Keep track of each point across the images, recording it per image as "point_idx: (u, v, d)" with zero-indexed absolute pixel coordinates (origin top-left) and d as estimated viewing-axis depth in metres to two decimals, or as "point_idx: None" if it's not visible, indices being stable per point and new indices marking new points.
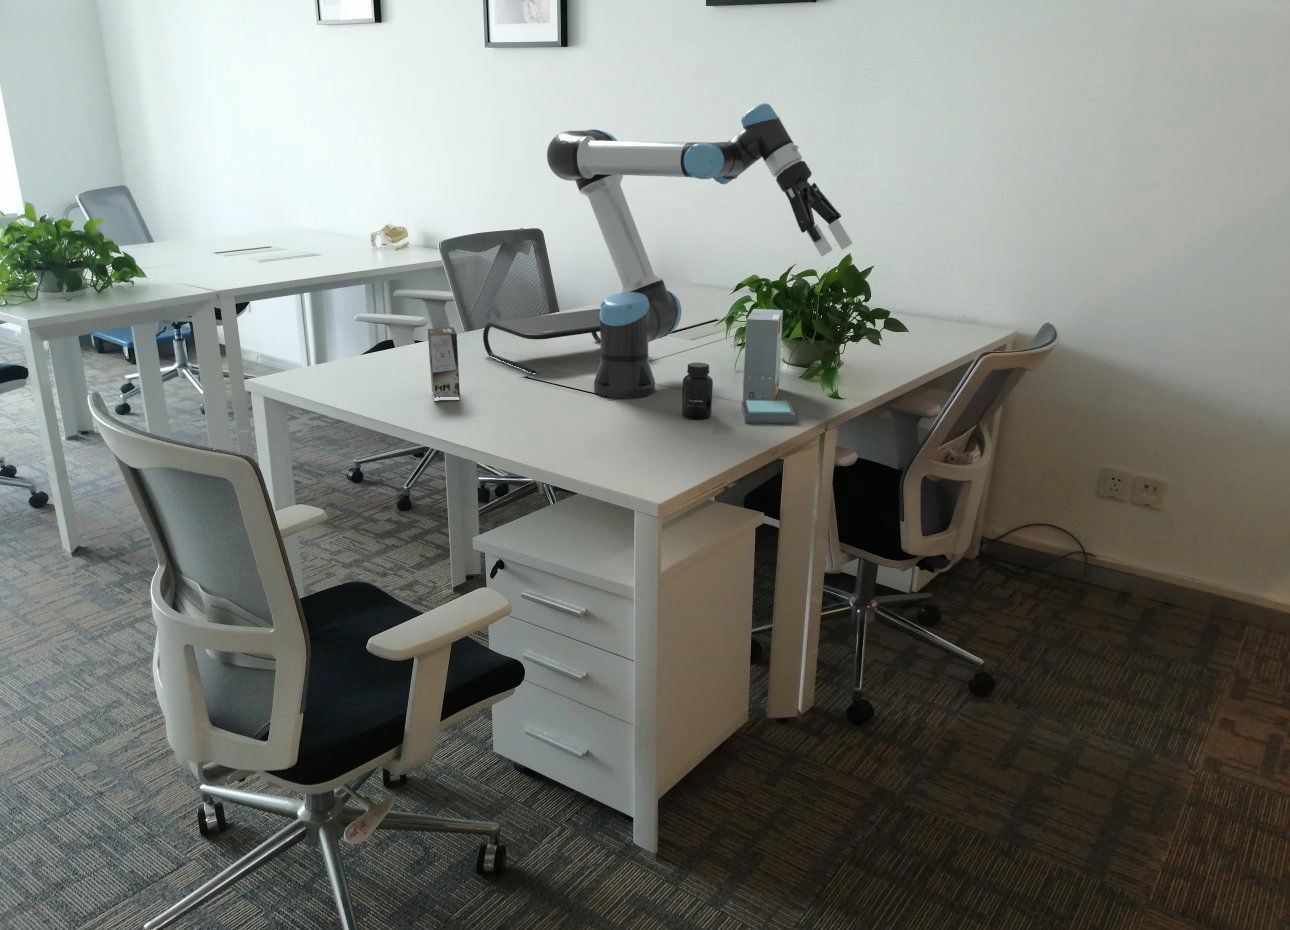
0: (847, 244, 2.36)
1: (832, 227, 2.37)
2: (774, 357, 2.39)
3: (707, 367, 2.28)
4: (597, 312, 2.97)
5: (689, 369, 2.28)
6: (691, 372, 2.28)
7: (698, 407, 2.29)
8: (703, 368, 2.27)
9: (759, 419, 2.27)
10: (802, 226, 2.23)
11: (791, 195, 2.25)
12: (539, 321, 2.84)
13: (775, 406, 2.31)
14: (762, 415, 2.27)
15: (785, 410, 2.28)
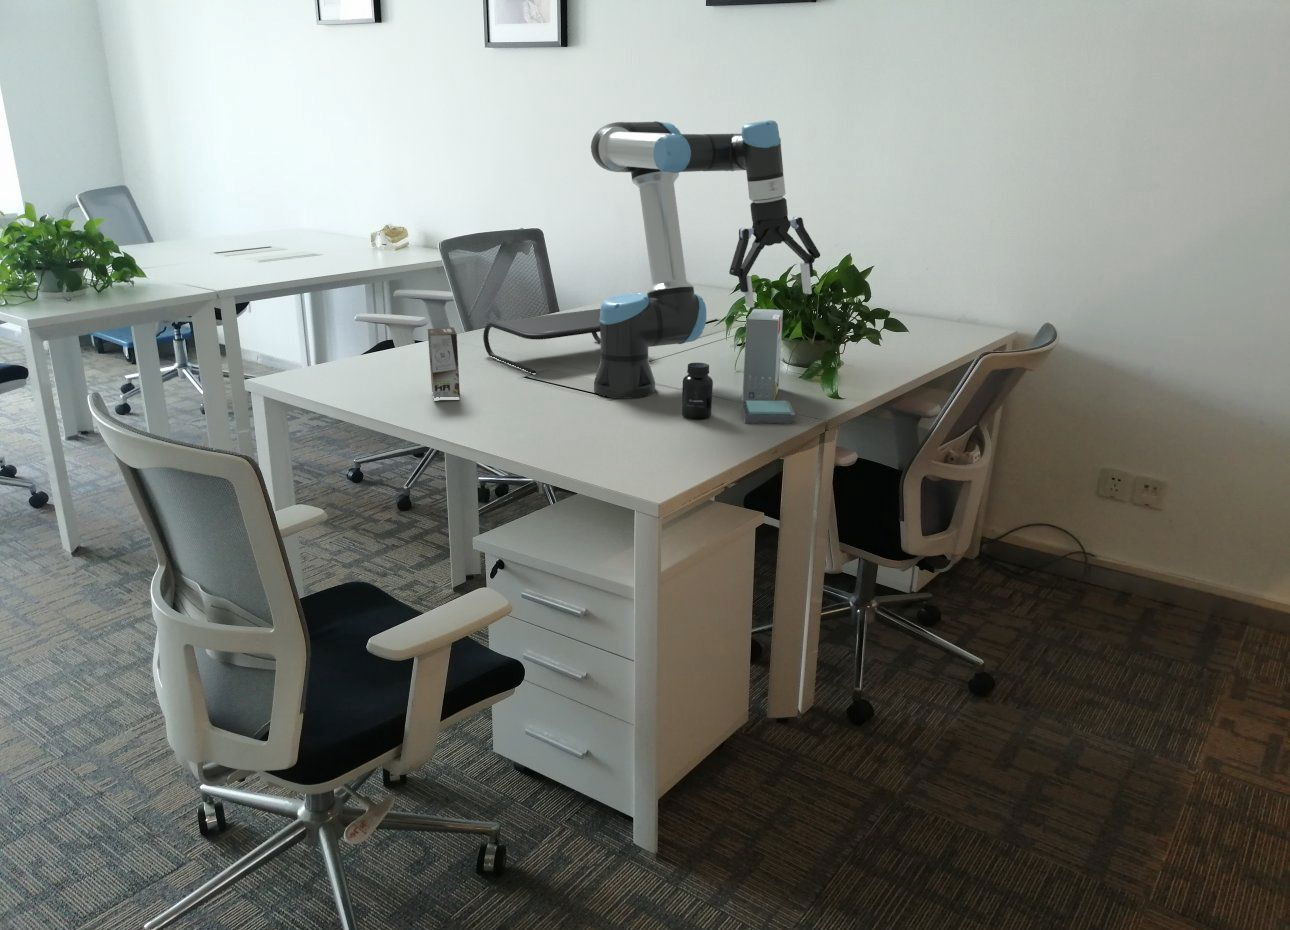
0: (806, 292, 2.22)
1: (802, 267, 2.21)
2: (774, 357, 2.39)
3: (707, 367, 2.28)
4: (597, 312, 2.97)
5: (689, 369, 2.28)
6: (691, 372, 2.28)
7: (698, 407, 2.29)
8: (703, 368, 2.27)
9: (759, 419, 2.27)
10: (731, 274, 2.16)
11: (740, 236, 2.14)
12: (539, 321, 2.84)
13: (775, 406, 2.31)
14: (762, 415, 2.27)
15: (785, 410, 2.28)
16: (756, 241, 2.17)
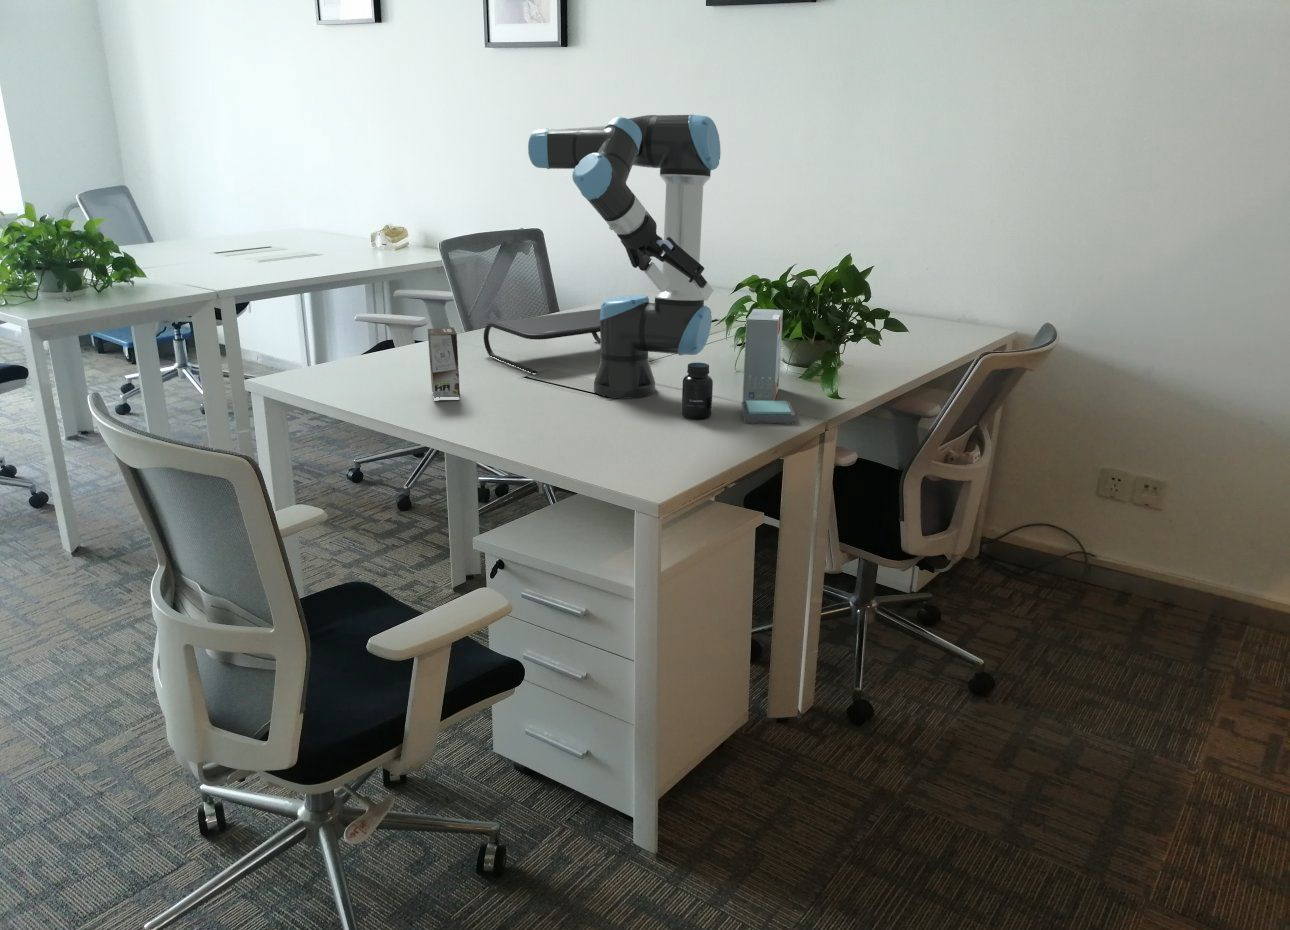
0: None
1: None
2: (774, 357, 2.39)
3: (707, 367, 2.28)
4: (598, 312, 2.96)
5: (689, 369, 2.28)
6: (691, 372, 2.28)
7: (698, 407, 2.29)
8: (703, 368, 2.27)
9: (759, 419, 2.27)
10: None
11: None
12: (540, 321, 2.83)
13: (775, 406, 2.31)
14: (762, 415, 2.27)
15: (785, 410, 2.28)
16: None
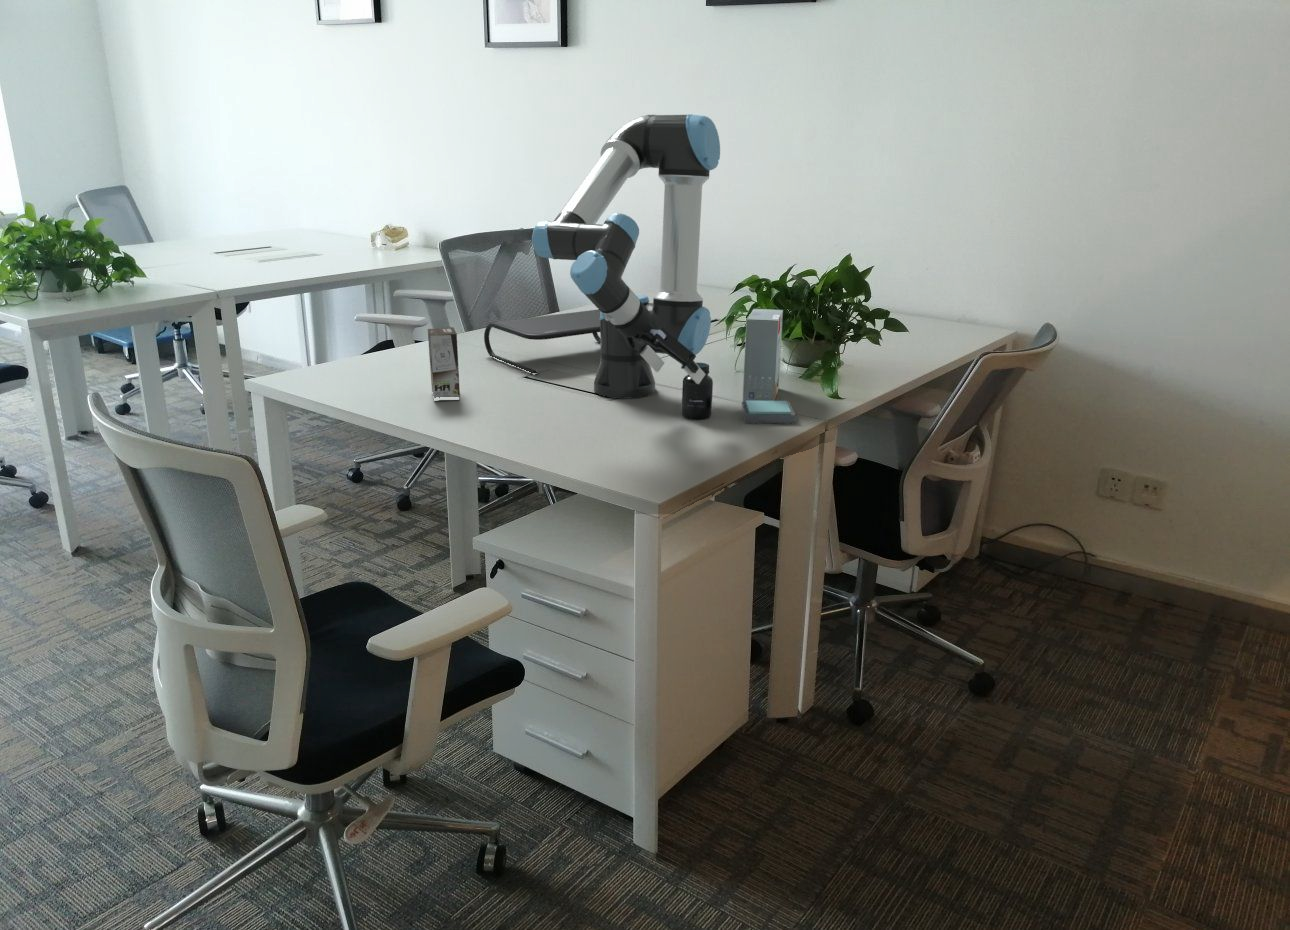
0: None
1: None
2: (774, 357, 2.39)
3: (707, 367, 2.28)
4: (598, 312, 2.96)
5: None
6: None
7: (698, 407, 2.29)
8: (703, 368, 2.27)
9: (759, 419, 2.27)
10: None
11: None
12: (540, 321, 2.83)
13: (775, 406, 2.31)
14: (762, 415, 2.27)
15: (785, 410, 2.28)
16: None
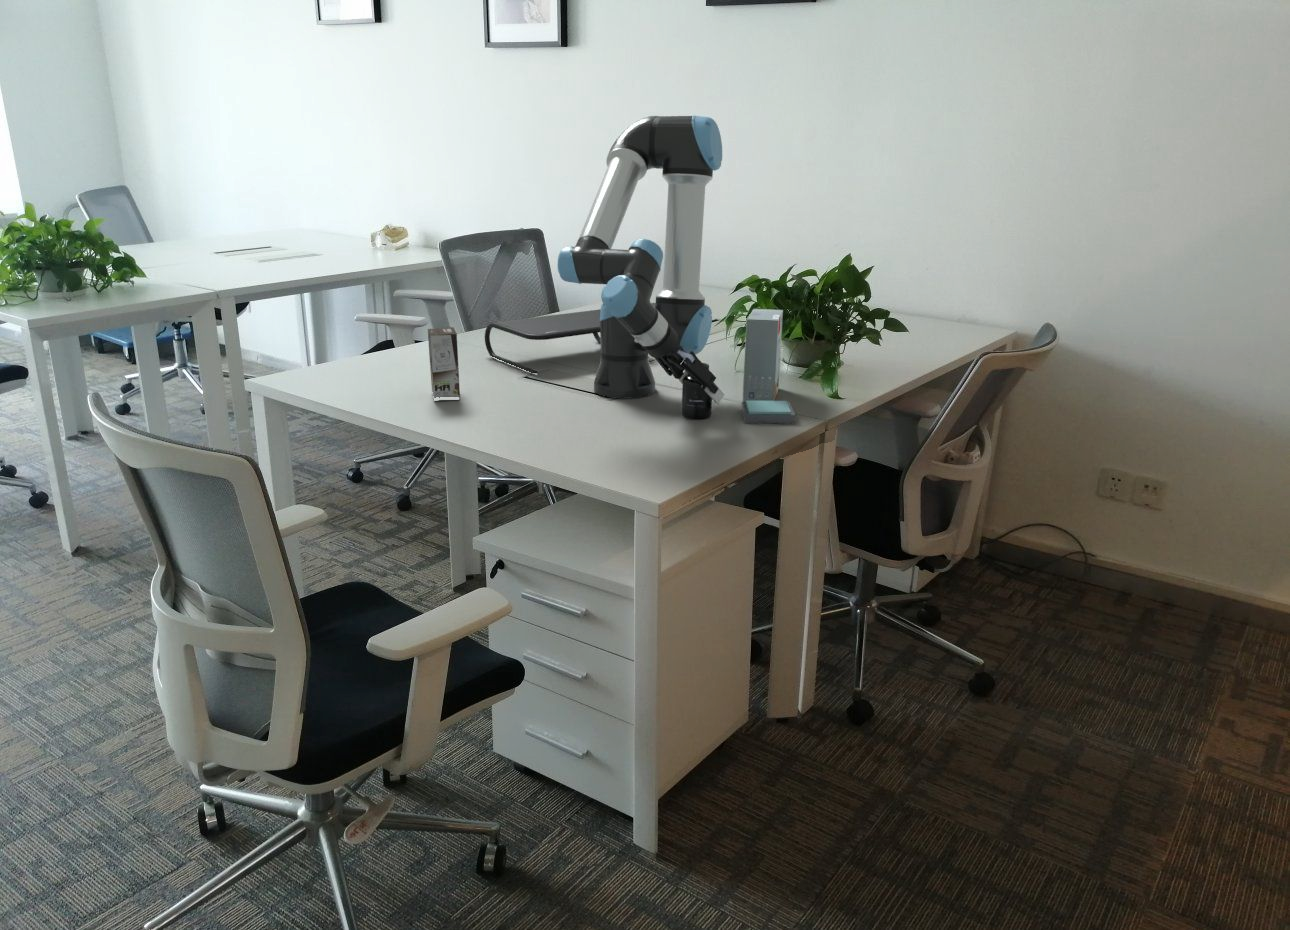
0: None
1: None
2: (774, 357, 2.39)
3: (707, 367, 2.28)
4: (599, 313, 2.96)
5: None
6: None
7: (698, 407, 2.29)
8: None
9: (759, 419, 2.27)
10: None
11: None
12: (541, 321, 2.83)
13: (775, 406, 2.31)
14: (762, 415, 2.27)
15: (785, 410, 2.28)
16: None
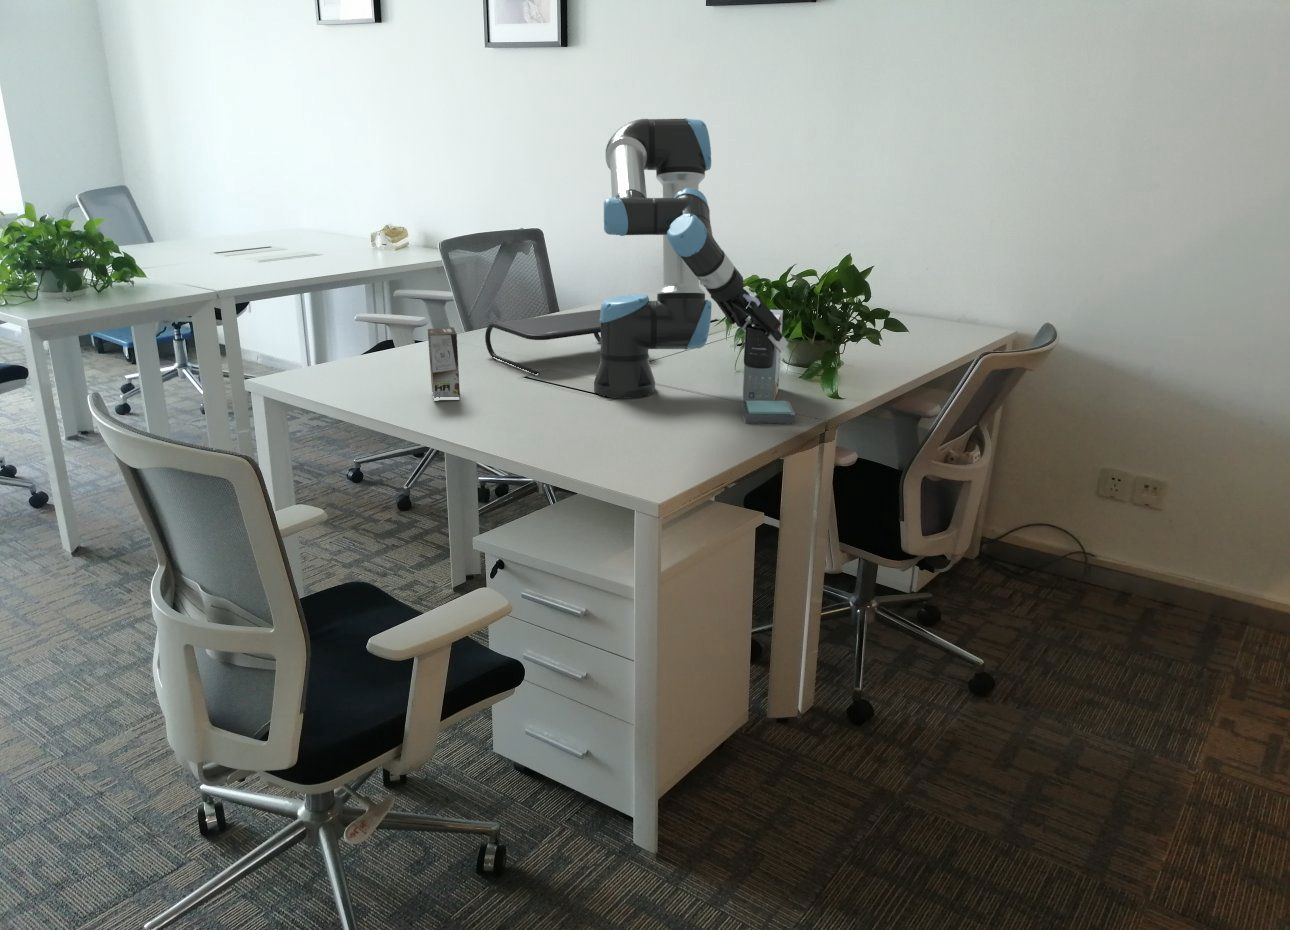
0: None
1: None
2: None
3: None
4: (599, 313, 2.96)
5: None
6: None
7: (761, 355, 2.23)
8: None
9: (759, 419, 2.27)
10: None
11: None
12: (541, 322, 2.83)
13: (775, 406, 2.31)
14: (762, 415, 2.27)
15: (785, 410, 2.28)
16: None
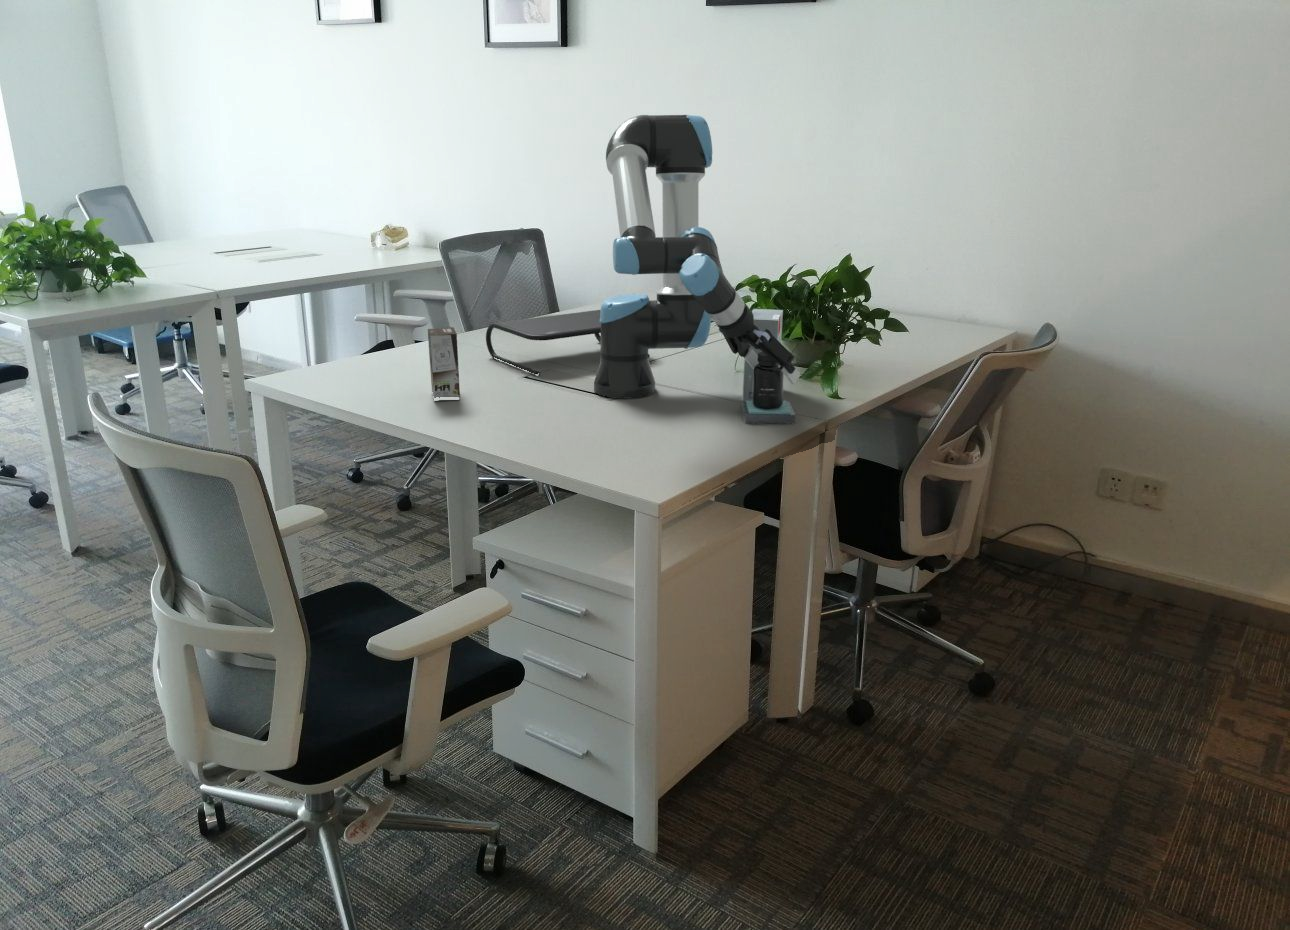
0: None
1: None
2: None
3: None
4: (600, 313, 2.96)
5: (759, 358, 2.27)
6: (762, 361, 2.27)
7: (769, 396, 2.27)
8: None
9: (759, 419, 2.27)
10: None
11: None
12: (542, 322, 2.83)
13: None
14: (762, 415, 2.27)
15: (785, 410, 2.28)
16: None
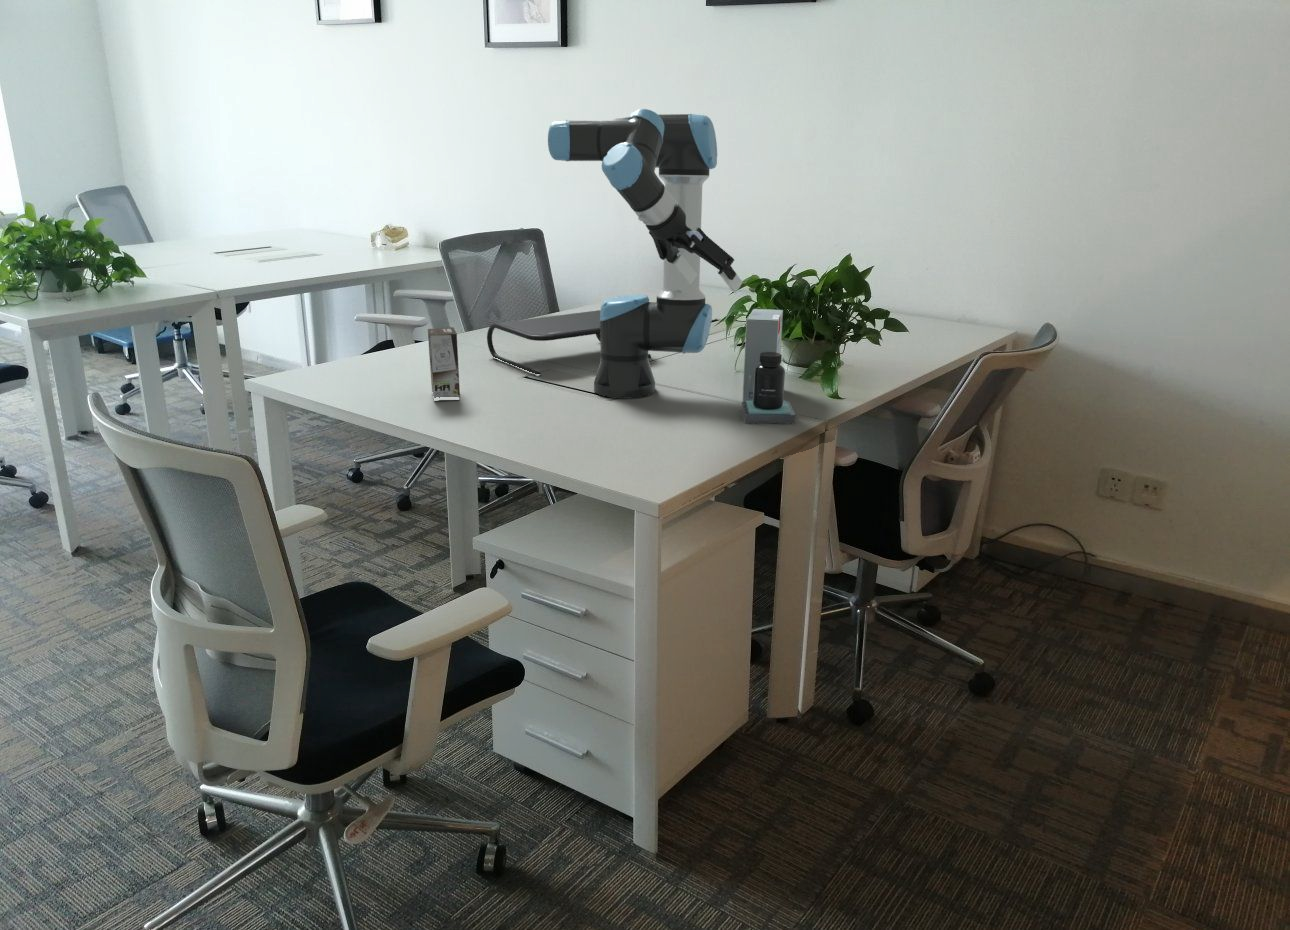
0: None
1: None
2: None
3: (780, 356, 2.27)
4: None
5: (761, 359, 2.27)
6: (764, 361, 2.26)
7: (770, 397, 2.27)
8: (776, 357, 2.26)
9: (759, 419, 2.27)
10: None
11: None
12: (543, 322, 2.82)
13: None
14: (762, 415, 2.27)
15: (785, 410, 2.28)
16: None
